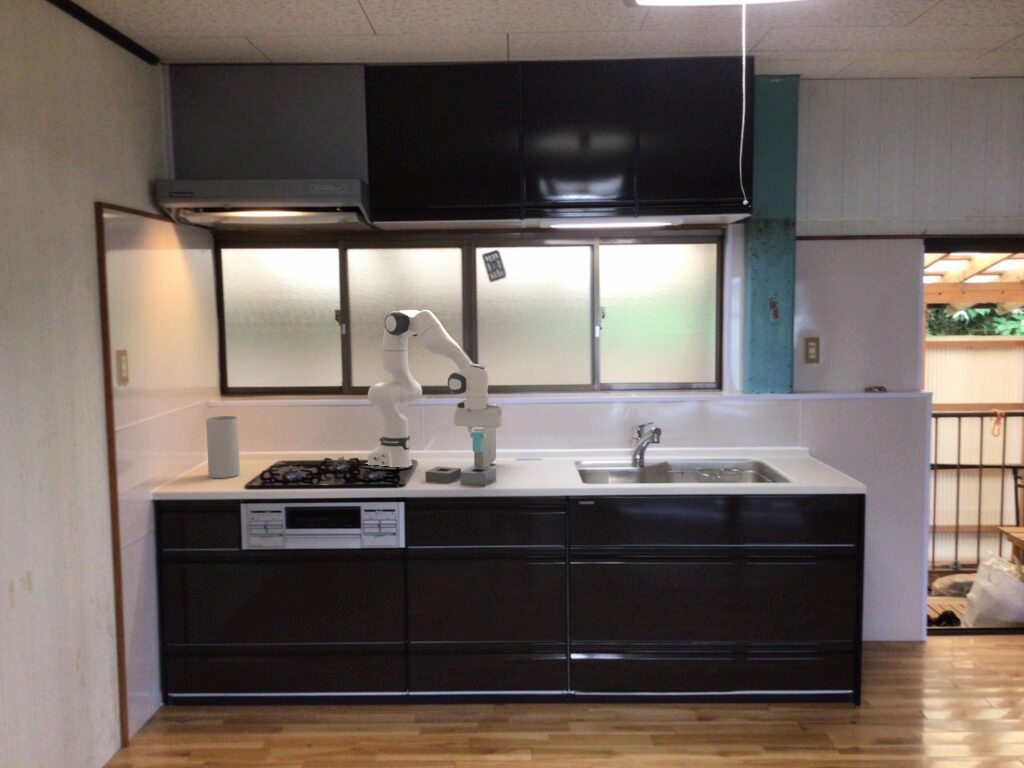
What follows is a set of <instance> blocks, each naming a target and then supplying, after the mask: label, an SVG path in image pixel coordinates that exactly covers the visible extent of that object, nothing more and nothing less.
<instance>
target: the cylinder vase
mask: <svg viewBox="0 0 1024 768" xmlns="http://www.w3.org/2000/svg"><path fill="white" fill-rule="evenodd" d="M238 421H239V420H238V417H237V416H234V415H222V416H221V415H219V416H211V417H206V419H205V422H206V426H205V427H206V442H207V443H206V444H207V447H206V448H207V467H208V468H207V469H208V477H209V478H212V479H230V478H235V477H237V476H239V475H240V473H241V472H240V471H241V470H240V448H239V447H240V445H239V422H238Z"/></svg>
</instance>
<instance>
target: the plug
mask: <svg viewBox="0 0 1024 768" xmlns="http://www.w3.org/2000/svg"><path fill="white" fill-rule="evenodd" d="M482 433H484V431H474V430H473V432H472V437H471V438H472V452H473V453H474V452H482V451H484V438H481V434H482Z"/></svg>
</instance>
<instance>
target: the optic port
mask: <svg viewBox="0 0 1024 768" xmlns="http://www.w3.org/2000/svg"><path fill="white" fill-rule="evenodd" d="M459 480H460V485H463V484H467V485H466V486H475V485H479V486H478V487H487V486H489V485H490V483H491V484H493V483H494V482H493V481H495V480H496V481H497V469H496V468H495V469H492V468H479V467H474V466H471V467H469V468H468V467H467V468H466V469H464V470H461V472H460V478H459ZM496 481H495V482H496ZM492 482H493V483H492ZM488 484H489V485H488ZM486 485H487V486H486Z"/></svg>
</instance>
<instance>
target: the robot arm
mask: <svg viewBox="0 0 1024 768" xmlns="http://www.w3.org/2000/svg"><path fill="white" fill-rule="evenodd" d="M384 328H385V329H384V332H383V338H382V367H383V370H385V371H386V372H388V373H390V374H391V375H392V379H393V380H392V381H382V382H377V383H375V384H372V385H371V386H370V387H369V388H368V391H367V398H368V401H369V403H370V404H371V405H372V406H373V407H375V408H376V409H377V411H378V412H379V413H380V416H381V419H382V424H383V436H382V437H381V438H379V439H378V442H380V444H379V445H378V446H377V447H376V448H375V449H373V450H372V451H371V452H370V453H369V454H368V457H367V462H366V463H365V464H368V465H379V466H389V467H408V466H411V465H413V462H412V458H411V451H410V449H411V439H410V437H411V436H410V434H409V429H410V428H409V419H408V418H407V416H406V415H404V414H402V413H401V412H400V411H399V409H398V408H399V407H398V406H406V405H412V404H414V403H415V404H416V403H417V402H420V401H421V399H422V396H423V388H422V386H421V384H420V383H419V382H418V381H417V380H415V378H414V377H413V375H412V373H411V372H410V368H409V367H410V366H409V354H408V353H409V351H408V350H409V349H408V348H409V346H408V341H409V338H410V337H411V336H413V337H417V336H418V338H419V340H420V342H421V343H422V345H423V346H424V348H425V349H426V350H427V351H428V352H429V353H432V354H434V355H439V356H443V357H445V358H448V359H450V360H452V362H454V363H455V364H456V366H457V368H458V369H459V371H455V372H453V373H451V374H450V375H448V376H449V377H448V378H447V388H448V390H449V391H450V393H451V394H453V395H456V396H457V395H458V396H463V395H466V399H464V400H462V401H459V402H456V403H455V408H456V409H455V411H454V414H453V423H454V425H455V426H457V427H467V431H468V433H469V436H470V437H469V438H472V432H474V430H473V428H476V427H484V430H485V431H484V433H482V434H481V438H486V433H487V432H488V430H489V427H491V428H496V429H498V428H501V427H502V425H503V417H502V413H503V412H502V407H501V406H500V405H499V404H489V403H490V402H489V393H488V389H489V373H488V370H487V366H485V365H483V364H480V363H474V361H472V359H471V358H470V357H469V355H468V354H467V352H465V350H464V349H463V347H462V346H461V345H460V344H459V343H457V341H455V339H453V338H452V336H451V335H449V333H448V332H447V331H446V329H445V328H444V326H443V324H442V323H441V322H440V320H439V319H438V317H436V316H435V315H434V313H433V312H432V311H431V310H428V309H422V310H420V309H415V310H414V309H405V310H394V311H391V312H389V313H388V314H387V315H386V316H385V318H384Z"/></svg>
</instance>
